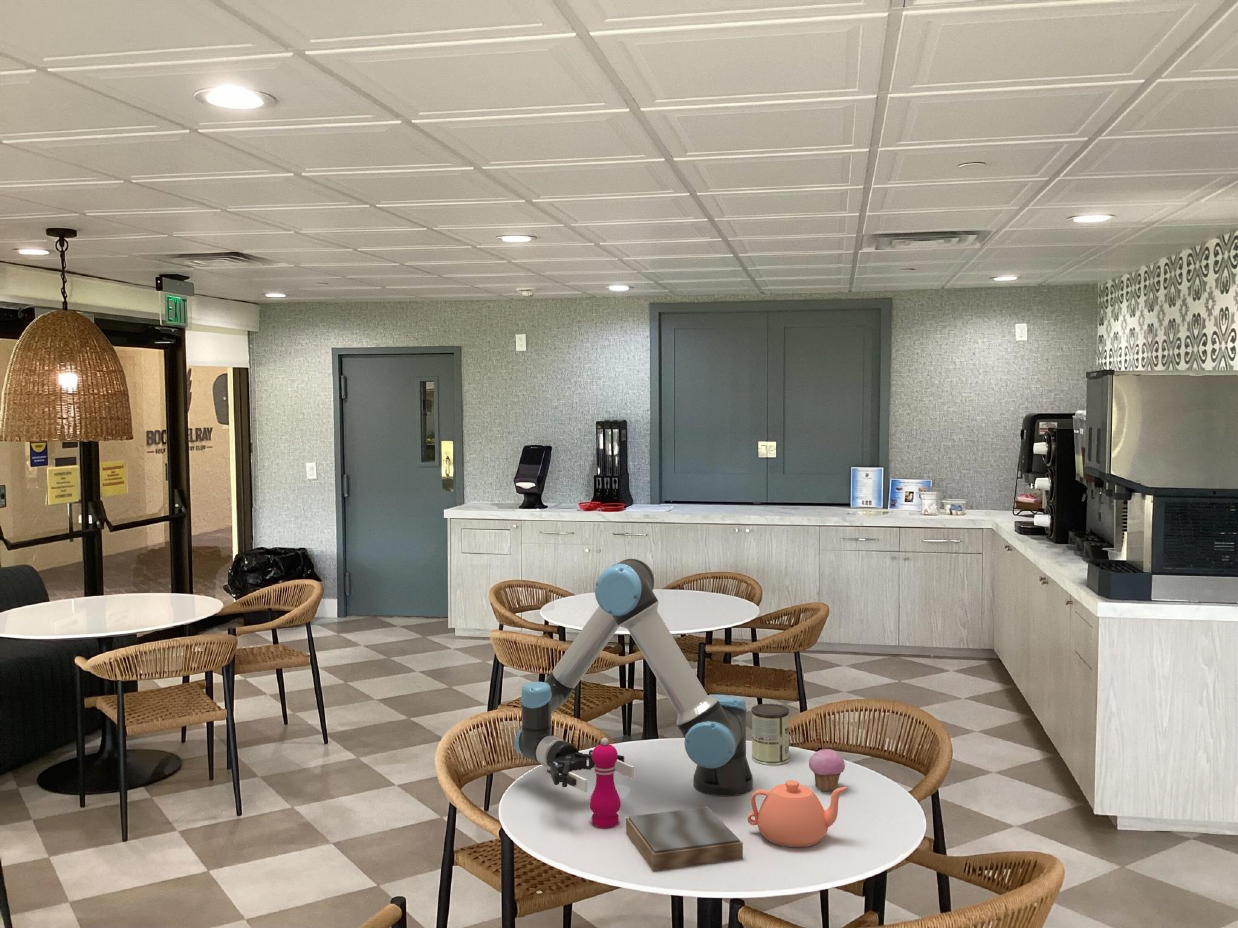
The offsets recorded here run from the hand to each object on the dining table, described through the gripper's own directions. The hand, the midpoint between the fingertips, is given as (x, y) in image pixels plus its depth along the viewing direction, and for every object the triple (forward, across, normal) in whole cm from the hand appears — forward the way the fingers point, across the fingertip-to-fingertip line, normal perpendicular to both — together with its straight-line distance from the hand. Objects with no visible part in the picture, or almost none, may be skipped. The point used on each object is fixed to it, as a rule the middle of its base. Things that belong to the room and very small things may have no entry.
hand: (610, 779), depth 228 cm
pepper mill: (-2, 0, -11) cm, 11 cm away
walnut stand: (+18, -6, -11) cm, 22 cm away
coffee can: (-9, -62, -11) cm, 64 cm away
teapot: (+31, -29, -11) cm, 44 cm away
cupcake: (+16, -56, -11) cm, 60 cm away
